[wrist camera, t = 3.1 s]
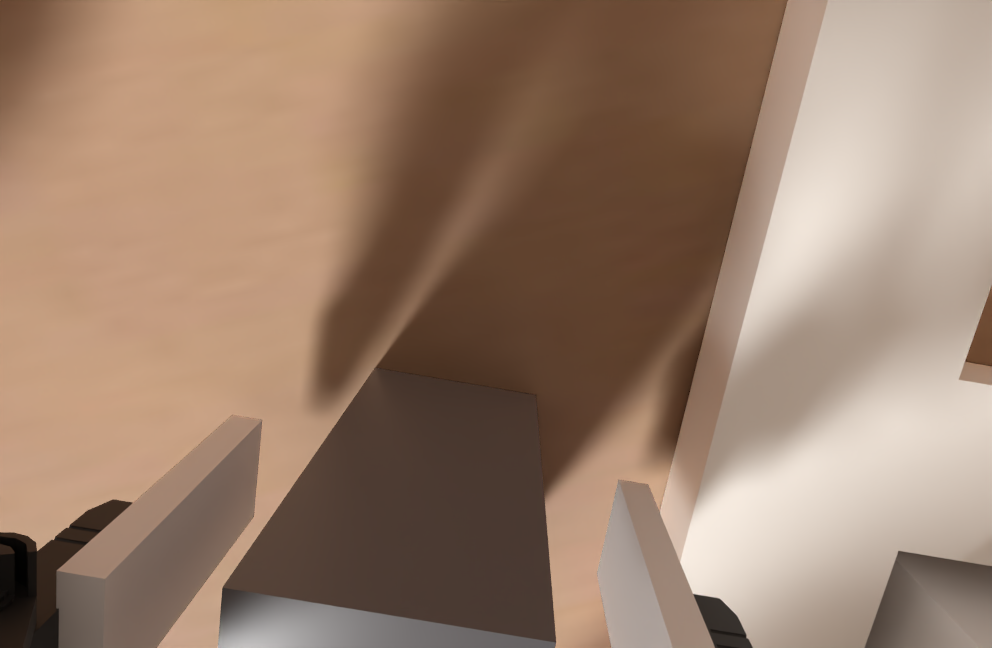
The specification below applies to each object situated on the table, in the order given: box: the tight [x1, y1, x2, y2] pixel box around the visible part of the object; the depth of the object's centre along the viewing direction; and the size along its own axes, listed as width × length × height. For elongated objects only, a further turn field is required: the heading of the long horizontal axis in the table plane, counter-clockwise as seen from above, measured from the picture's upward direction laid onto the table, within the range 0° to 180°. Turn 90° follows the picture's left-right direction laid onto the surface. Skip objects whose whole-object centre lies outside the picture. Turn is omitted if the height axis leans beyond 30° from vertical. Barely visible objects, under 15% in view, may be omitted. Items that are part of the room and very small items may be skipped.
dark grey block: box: [218, 368, 556, 648], centre depth 14 cm, size 5×5×10 cm
